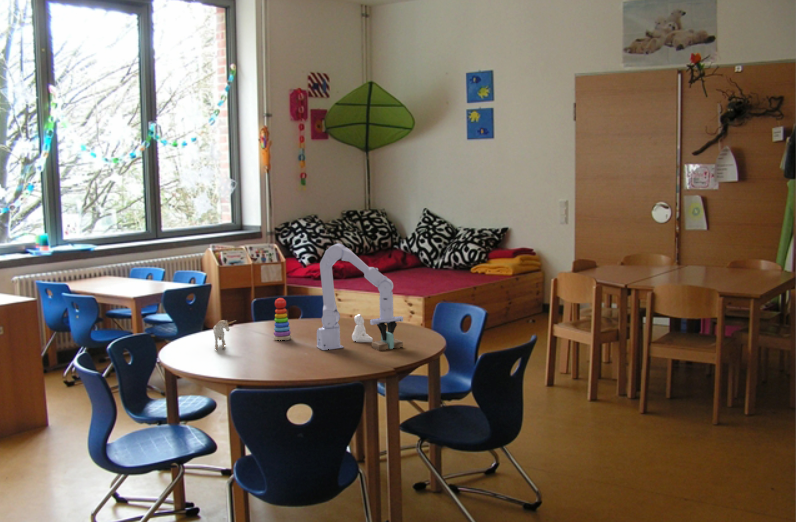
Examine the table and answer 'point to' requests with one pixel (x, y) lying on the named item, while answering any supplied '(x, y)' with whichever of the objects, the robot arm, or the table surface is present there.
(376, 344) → the slot block
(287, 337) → the stacking toy
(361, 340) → the sitting furry creature
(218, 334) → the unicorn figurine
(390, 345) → the teal rectangular block
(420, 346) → the table surface
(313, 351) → the table surface
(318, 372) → the table surface
